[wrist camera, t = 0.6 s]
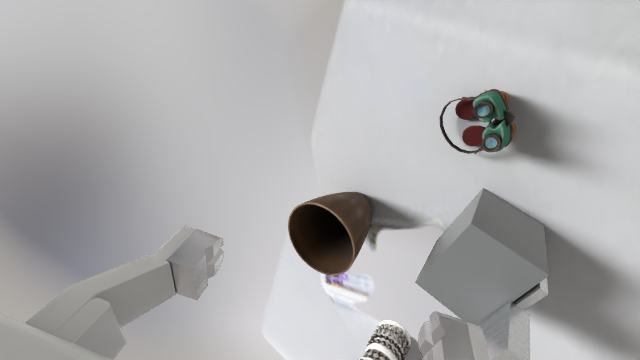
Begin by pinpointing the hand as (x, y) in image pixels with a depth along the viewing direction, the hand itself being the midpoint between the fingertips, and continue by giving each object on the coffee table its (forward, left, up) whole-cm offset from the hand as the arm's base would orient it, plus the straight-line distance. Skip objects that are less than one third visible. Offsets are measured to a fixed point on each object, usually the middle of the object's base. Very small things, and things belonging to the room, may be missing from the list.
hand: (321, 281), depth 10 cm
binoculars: (0, 0, -44) cm, 45 cm away
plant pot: (+28, -10, -44) cm, 54 cm away
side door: (+16, +18, -42) cm, 49 cm away
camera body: (+16, +12, -44) cm, 49 cm away
